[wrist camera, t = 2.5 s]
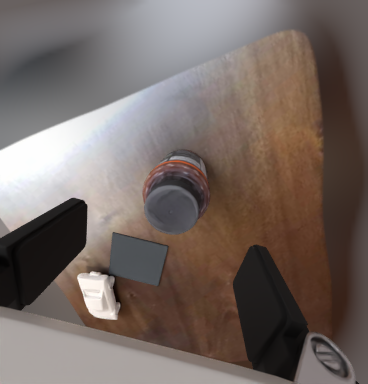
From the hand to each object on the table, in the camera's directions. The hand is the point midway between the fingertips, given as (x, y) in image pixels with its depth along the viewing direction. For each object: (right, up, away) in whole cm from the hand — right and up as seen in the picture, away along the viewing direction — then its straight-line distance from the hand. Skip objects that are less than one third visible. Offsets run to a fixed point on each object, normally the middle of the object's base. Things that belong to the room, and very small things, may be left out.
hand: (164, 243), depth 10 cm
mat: (-7, -9, +19) cm, 22 cm away
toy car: (-14, -15, +23) cm, 31 cm away
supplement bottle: (+1, +6, +13) cm, 14 cm away
